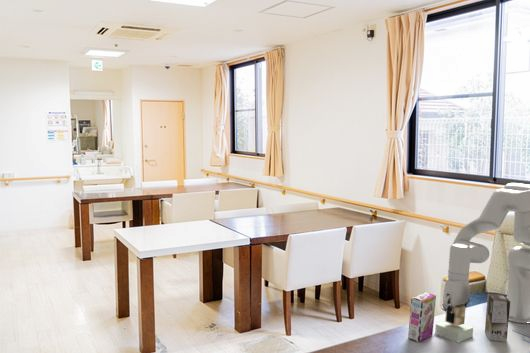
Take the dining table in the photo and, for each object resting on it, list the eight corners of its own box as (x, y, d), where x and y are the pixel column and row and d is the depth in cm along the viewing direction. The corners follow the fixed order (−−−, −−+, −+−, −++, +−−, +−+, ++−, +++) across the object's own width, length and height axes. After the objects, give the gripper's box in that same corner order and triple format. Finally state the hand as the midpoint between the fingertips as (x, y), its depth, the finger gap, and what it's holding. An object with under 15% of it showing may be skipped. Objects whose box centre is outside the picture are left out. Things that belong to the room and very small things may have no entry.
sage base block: (450, 328, 203) (450, 319, 203) (472, 337, 195) (473, 327, 195) (435, 333, 198) (435, 324, 197) (457, 343, 190) (458, 333, 189)
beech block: (453, 319, 199) (455, 302, 199) (464, 323, 195) (465, 306, 194) (445, 321, 197) (446, 304, 196) (455, 326, 193) (456, 308, 192)
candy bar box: (419, 343, 187) (422, 301, 186) (407, 338, 191) (410, 297, 189) (433, 335, 195) (436, 294, 194) (421, 331, 199) (424, 291, 197)
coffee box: (507, 342, 191) (511, 301, 189) (489, 340, 192) (493, 299, 191) (501, 333, 200) (504, 294, 198) (484, 331, 201) (487, 292, 200)
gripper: (464, 270, 202) (461, 314, 203) (435, 275, 193) (432, 321, 195) (480, 275, 195) (477, 320, 197) (451, 281, 187) (447, 327, 188)
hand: (454, 320), depth 196 cm, fingers closed on beech block, 4 cm apart
